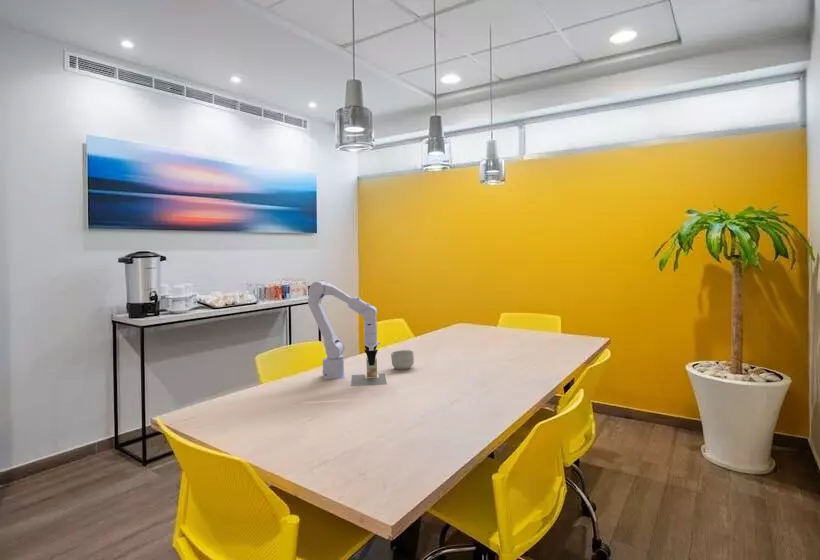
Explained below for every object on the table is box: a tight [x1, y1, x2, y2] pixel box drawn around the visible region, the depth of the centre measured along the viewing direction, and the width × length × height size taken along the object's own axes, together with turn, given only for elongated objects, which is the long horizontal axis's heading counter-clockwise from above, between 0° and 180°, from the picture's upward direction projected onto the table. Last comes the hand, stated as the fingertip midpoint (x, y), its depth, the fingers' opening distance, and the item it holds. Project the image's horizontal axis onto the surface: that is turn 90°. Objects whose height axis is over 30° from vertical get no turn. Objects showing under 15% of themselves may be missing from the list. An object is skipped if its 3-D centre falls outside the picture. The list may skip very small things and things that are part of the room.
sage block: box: [365, 356, 378, 370], centre depth 211 cm, size 4×4×4 cm
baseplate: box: [350, 372, 388, 387], centre depth 207 cm, size 15×17×1 cm
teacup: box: [390, 349, 415, 371], centre depth 227 cm, size 14×11×8 cm
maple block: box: [366, 367, 378, 378], centre depth 212 cm, size 4×4×4 cm
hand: (371, 363), depth 211 cm, fingers open, 7 cm apart
